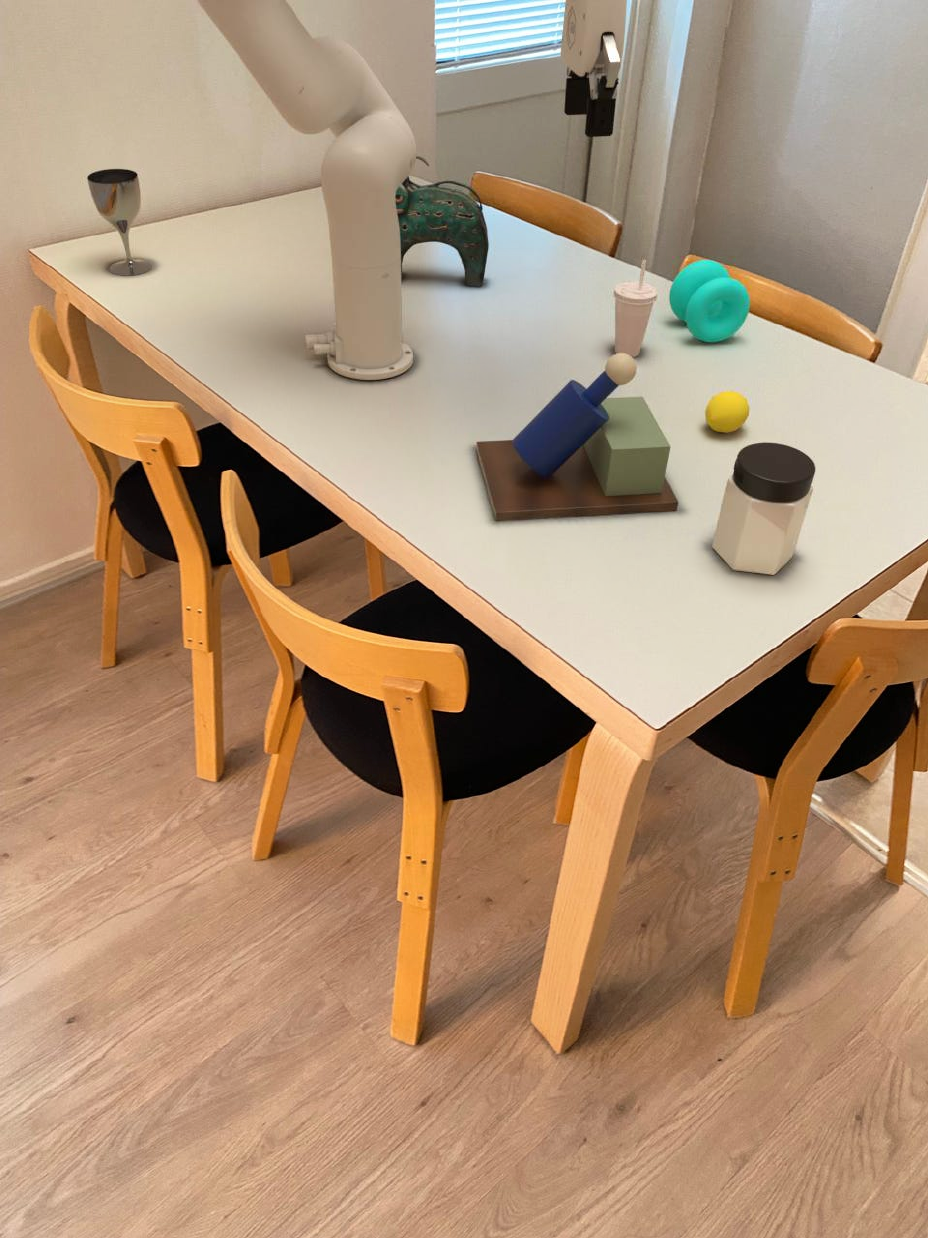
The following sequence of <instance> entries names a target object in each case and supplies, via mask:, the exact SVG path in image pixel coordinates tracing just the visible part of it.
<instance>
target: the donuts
mask: <svg viewBox="0 0 928 1238" xmlns="http://www.w3.org/2000/svg"><path fill="white" fill-rule="evenodd" d="M668 302H669V306H670V309H671V311H672V313H673V314H674V315H675V316H676V317H677V318H678V319H679V320H681V321H683V322H685V324H686V326H687V329H688V331H689V332H690V334H692V336H693V337H694V338H696V339H697V340H700V341H702V342H705V343H718V342H721V341H725V340H726V339H728V338H730V337H732V336H733V335H734V334H735V333H737V332H738V331H739V330H740V329H741V327H742V326H743V325H744V323H745V322H746V320H747V317H748V316H749V313H750V307H751V306H750V305H751V299H750V294H749V292H748V289H747V288H746V287H745V285H744V284H743V283H741V282H740V281H739V280H737V279H734V278H732V277H731V276H730V274H729V272H728V270H727V269H726V267H724V266H723V265H722V264H721V263H720V262H717V261H715V260H711V259H701V260H697V261H694V262H692V263H689V264H688V265H686V266H685V267H684V268H683V269H682V270H680V271H679V273H678V274H677V275H676V276H675V278H674V279H673V282H672V284H671V286H670V290H669V295H668Z"/></svg>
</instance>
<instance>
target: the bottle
mask: <svg viewBox="0 0 928 1238" xmlns="http://www.w3.org/2000/svg"><path fill="white" fill-rule="evenodd" d="M637 370H638V367H637V362H636V360H635V359H634V357H631V356H630V355H628V354H626V353H617V354H616V353H614V354H612V355H611V356H610V357H609V358H608V360H607V361H606V363H605V366H604V371H602V373H600V375H598V376H597V377H596V379H595V380H593V381H592V382H591V384H589V385H588V386H587V387H585V386H584V385H583V384H582V383H580V382H579V381H577V380H574V379H570V380H569V382H568V383H566V385H564V387H563V388H561V390H559V392H558V393H557V394H556V395H555V396H554V397H553V398H552V399H551V400H550V401H549V402H548V403H547V404H546V405H545V406H544V407H543V408H542V409H541V410H540V411H539V412H538V413H537V414H536V416H534V418H532V419H531V421H529V423H528V424H527V425H526V426H524V428H522V429H521V430H520V432H518V434H516V436H515V437H514V438H513V439H512V440H513V446H514V448H515V450H516V451H517V453H518V454H519V455H520V457H521V458H522V459H523V460H524V461H525V462H526V464H527V465H529V466H530V467H531V468H532V469H533V470H534V471H536V472H537V473H538V474H540V475H542V476H544V477H546V478H549V477H551V476H552V475H553V474H554V473H555V472H556V471H557V470H558V469H559V468H560V467H561V466H562V465H563V464H564V463H565V462H566V461H567V460H568V459H569V458H570V457H571V456H572V455H573V454H574V453H575V452H576V451H577V450H578V449H579V448H580V447H581V446H582V445H583V444H584V443H585V442H586V441H588V440H589V439H590V438H591V437H592V436H593V435H594V434H595V433H596V432H597V431H598V430H599V429H600V428H601V427H602V426H603V425H604V424H605V423H606V422H607V421H608V420H609V415H608V413H607V411H606V410H605V408H604V407H603V406H602V404H601V403H602V402H603V401H604V400H605V399H606V398H609V397H610V395H611V394H612V393H613V392H614V391H615V390H616V389H617V388H618V387H619V386H625V385H627V384H629V383H631V382H632V381H633V380H634V378H635V376H636V374H637Z"/></svg>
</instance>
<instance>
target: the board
mask: <svg viewBox="0 0 928 1238" xmlns="http://www.w3.org/2000/svg"><path fill="white" fill-rule="evenodd" d="M475 450H476V454H477V457H478V462H479V464H480V465H479V466H480V468H481V472H482V475H483V479H484V484H485V487H486V490H487V494H488V498H489V502H490V505H491V510H492V512H493V517H494V519H495V521H497V522H498V521H513V520H532V519H549V518H566V517H567V518H569V517H582V516H599V515H600V516H601V515H616V514H617V515H618V514H634V513H635V514H636V513H652V512H653V513H655V512H669V511H670V512H671V511H677V510H678V507H679V500H678V499H677V497H676V495H675V493H674V491H673V489H672V487H671V485H670V483H669V482H668V480H667V478H666V477H665V478H664V484H663V489H662V493H656V494H638V495H620V496H605V494H604V492H603V490H602V487H601V485H600V483H599V480H598V478H597V476H596V474H595V471H594V469H593V467H592V464H591V462H590V460H589V457H588V455H587V453H586V450H585V448H584V446H583V445H582V446H581V447H580V448H579V449H578V450H577V451H576V452H575V453H574V454H573V455H572V456H571V457H570V458H569V459H568V460H567V461H566V462H565V463H564V464H563V465H562V466H561V467H560V468H559V469H558V470H557V471H556V472H555V473H554V474H553V475H552V476H551V477H549V478H546V477H544V476H542V475H540V474H538V473H537V472H536V471H534V470H533V469H532V468H531V467H530V466H529V465H527V464H526V462H525V461H524V460H523V459H522V458H521V457H520V455H519V454H518V453H517V451H516V450H515V448H514V446H513V439H505V440H483V441H476V443H475Z"/></svg>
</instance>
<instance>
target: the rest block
mask: <svg viewBox="0 0 928 1238" xmlns="http://www.w3.org/2000/svg"><path fill="white" fill-rule="evenodd" d="M601 404H602V406H603V407H604V408H605V410H606V411H607V413H608V415H609V420H608V421H607V422H606V423H605V424H604V425H603V426H602V427H601V428H600V429H599V430H598V431H597V432H596V433H595V434H594V435H593V436H592V437H591V438H590V439H589V440H588V441H586V442H585V443H584V444H583V446H584V448H585V450H586V453H587V455H588V457H589V460H590V462H591V464H592V467H593V469H594V471H595V474H596V476H597V478H598V480H599V483H600V485H601V487H602V490H603V492H604V494H605V496H620V495H638V494H656V493H662V489H663V484H664V478H666V472H667V468H668V467H667V466H668V463H669V457H670V453H671V445H670V443H669V441H668V439H667V438H666V435H665V434H664V432H663V430H662V428H661V427H660V425H659V422H657V420H656V418H655V416H654V414H653V412H652V411H651V408H650V407H649V404H647V402H646V400H645V398H644V397H643V396H629V397H628V396H627V397H625V396H623V397H607V398H606V399H605V400H604V401H603V402H602V403H601Z"/></svg>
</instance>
